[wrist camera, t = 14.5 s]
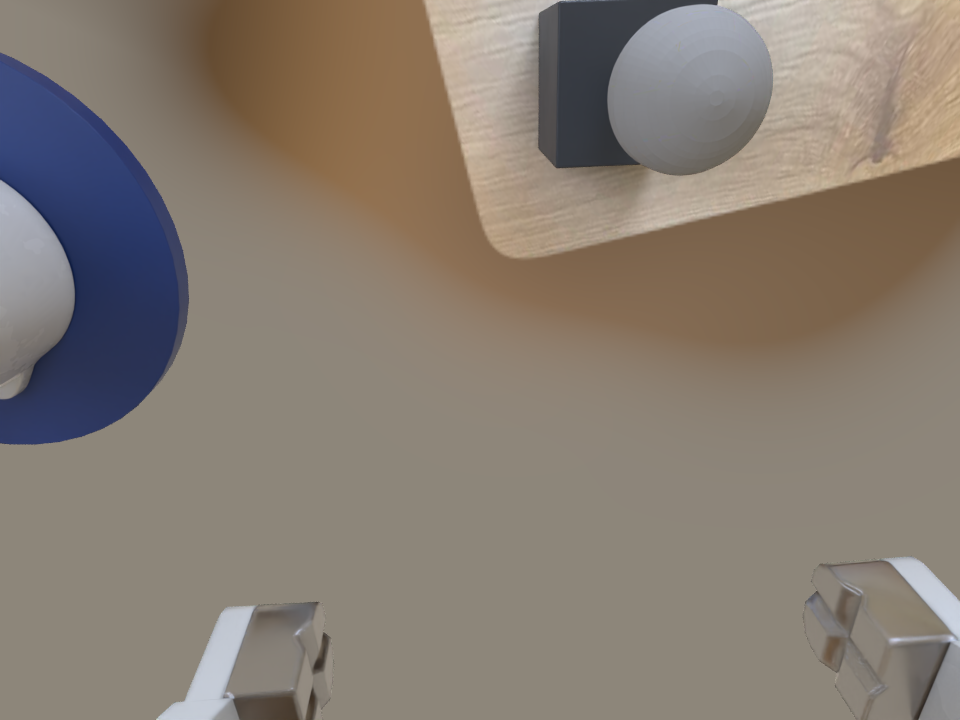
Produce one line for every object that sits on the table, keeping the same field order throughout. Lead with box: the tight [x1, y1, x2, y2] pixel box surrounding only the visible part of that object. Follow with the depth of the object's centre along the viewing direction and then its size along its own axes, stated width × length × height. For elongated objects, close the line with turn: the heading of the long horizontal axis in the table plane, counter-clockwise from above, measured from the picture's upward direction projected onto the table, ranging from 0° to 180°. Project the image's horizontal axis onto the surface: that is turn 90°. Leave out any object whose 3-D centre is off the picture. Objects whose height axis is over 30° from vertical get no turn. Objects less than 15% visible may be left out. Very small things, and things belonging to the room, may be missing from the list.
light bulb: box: [607, 4, 773, 175], centre depth 24 cm, size 6×5×10 cm
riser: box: [539, 0, 718, 168], centre depth 31 cm, size 7×7×7 cm
